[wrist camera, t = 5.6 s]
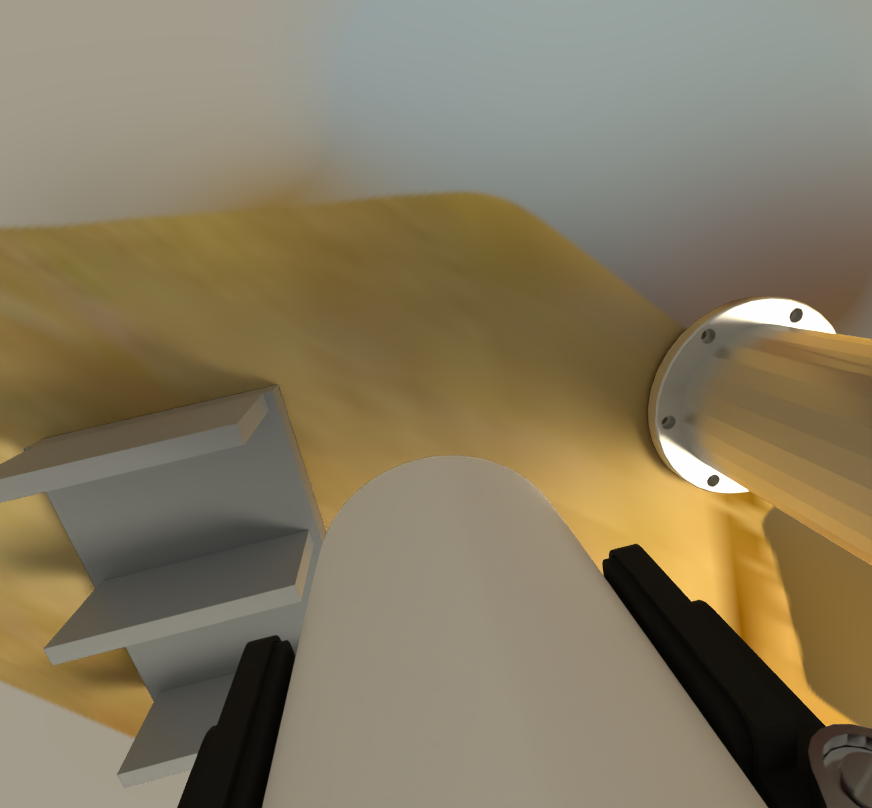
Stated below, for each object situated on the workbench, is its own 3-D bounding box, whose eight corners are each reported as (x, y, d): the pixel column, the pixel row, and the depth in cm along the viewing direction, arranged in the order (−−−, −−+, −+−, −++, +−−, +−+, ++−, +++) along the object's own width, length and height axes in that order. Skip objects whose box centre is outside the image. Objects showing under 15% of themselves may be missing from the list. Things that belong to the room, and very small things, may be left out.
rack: (278, 384, 27) (248, 420, 20) (359, 636, 32) (355, 724, 26) (42, 439, 26) (-62, 493, 20) (166, 686, 31) (114, 790, 25)
